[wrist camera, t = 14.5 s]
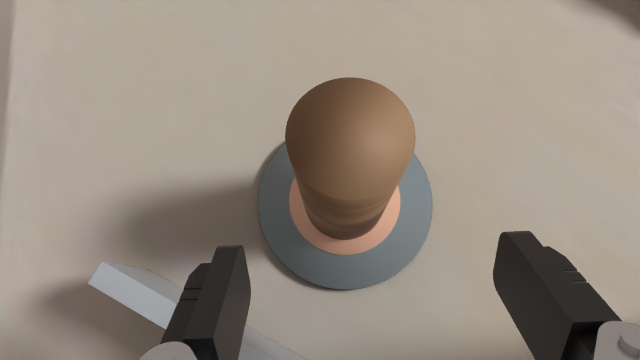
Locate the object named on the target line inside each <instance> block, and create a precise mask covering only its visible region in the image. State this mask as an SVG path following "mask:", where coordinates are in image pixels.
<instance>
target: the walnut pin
mask: <svg viewBox="0 0 640 360" xmlns="http://www.w3.org/2000/svg"><path fill="white" fill-rule="evenodd" d="M285 140H286V148H287V152H288V155H289V159H290V162H291V165H292V168H293V171H294V175H295V178H296V181H297V184H298V187H299V191H300V194H301V197H302V200H303V203H304V207H305V210H306V213H307V215H308V218H309V219H310V221H311V223H312V224H313V225H314V226H315V228H316V229H317V230H319V231H320V232H321V233H323V234H325V235H326V236H329V237H331V238H334V239H340V240H350V239H355V238H358V237H361V236H363V235H365V234H367V233H368V232H369V231H371V230H372V229H373V228H374V227H375V226H376V224H377V223H378V221H379V220H380V218H381V216H382V214H383V212H384V210H385V208H386V206H387V205H388V203H389V201H390V199H391V197H392V195H393V193H394V191H395V189H396V187H397V185H398V184H399V182H400V180H401V178H402V176H403V174H404V172H405V170H406V168H407V166H408V164H409V162H410V160H411V158H412V155H413V152H414V148H415V128H414V123H413V120H412V117H411V115H410V113H409V111H408V109H407V107H406V106H405V105H404V103H403V102H402V101H401V100H400V99H399V97H398V96H397V95H395V94H394V93H393V92H392V91H390V90H389V89H387V88H386V87H384V86H382V85H380V84H378V83H376V82H373V81H370V80H366V79H362V78H338V79H334V80H330V81H327V82H324V83H322V84H320V85H318V86H316V87H314V88H313V89H311V90H310V91H308V92H307V93H306V94H305V95H304V96H303V97H302V98H301V99H300V100H299V101H298V102H297V104H296V105H295V106H294V108H293V110H292V112H291V114H290V116H289V119H288V122H287V126H286V134H285Z"/></svg>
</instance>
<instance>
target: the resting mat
mask: <svg viewBox="0 0 640 360" xmlns="http://www.w3.org/2000/svg"><path fill="white" fill-rule="evenodd" d="M432 206H433V205H432V193H431V188H430V184H429V181H428V178H427V175H426V172H425V170H424V169H423V167H422V165H421V163H420V161H419V160H418V158H417V157H416V155H415V154H414V153H413V155H412V158H411V160H410V162H409V164H408V166H407V168H406V170H405V172H404V174H403V176H402V178H401V180H400V182H399V184H398V185H397V187H396V189H395V191H394V193H393V195H392V197H391V199H390V201H389V203H388V205H387V206H386V208H385V210H384V212H383V214H382V216H381V218H380V220H379V221H378V223H377V224H376V226H375V227H374V228H373V229H372V230H371V231H369V232H368V233H367V234H365V235H363V236H361V237H358V238H355V239H350V240H340V239H334V238H331V237H329V236H326V235H325V234H323V233H321V232H320V231H319V230H317V229H316V228H315V226H314V225H313V224H312V223H311V221H310V219H309V218H308V215H307V213H306V210H305V207H304V203H303V200H302V197H301V194H300V191H299V187H298V184H297V181H296V178H295V175H294V171H293V168H292V165H291V162H290V159H289V155H288V152H287V148H286V143H284V144H283V145H282V146H281V147H280V149H279V150H278V151H277V152H276V153H275V154H274V156H273V157H272V159H271V160H270V162H269V164H268V166H267V168H266V170H265V172H264V174H263V177H262V180H261V184H260V189H259V194H258V213H259V219H260V224H261V228H262V231H263V233H264V236H265V238H266V240H267V242H268V244H269V246H270V248H271V249H272V251H273V252H274V253H275V255H276V256H277V257H278V258H279V260H280V261H281V262H282V263H283V264H284V265H285V266H286V267H288V268H289V269H290V270H291V271H292V272H294V273H295V274H297V275H298V276H300V277H301V278H303V279H305V280H307V281H309V282H311V283H314V284H316V285H320V286H323V287H326V288H333V289H345V290H351V289H359V288H365V287H369V286H372V285H375V284H378V283H380V282H383V281H385V280H387V279H389V278H390V277H392V276H394V275H395V274H397V273H398V272H399V271H401V270H402V269H403V268H404V267H406V266H407V265H408V264H409V262H410V261H411V260H412V259H413V258H414V257H415V256H416V254H417V253H418V251H419V250H420V248H421V247H422V245H423V243H424V241H425V239H426V236H427V233H428V231H429V228H430V223H431V218H432Z"/></svg>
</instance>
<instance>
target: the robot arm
mask: <svg viewBox="0 0 640 360" xmlns="http://www.w3.org/2000/svg"><path fill="white" fill-rule="evenodd" d="M493 280H494V285H495V288H496V291H497V292H498V294H499V296H500V298H501V300H502V301H503V303H504V305H505V307H506V308H507V310H508V312H509V314H510V315H511V317H512V319H513V321H514V323H515V324H516V326H517V328H518V330H519V331H520V333H521V335H522V337H523V338H524V340H525V342H526V344H527V346H528V347H529V349H530V351H531V353H532V354H533V356H534V358H535V360H640V326H637V325H635V324H631V323H628V322H622V320H621V319H620V318H619V317H618V316H617V315H616V314H615V312H614V311H613V310H612V309H611V308H610V307H609V306H608V304H607V303H606V302H605V301H604V300H603V299H602V298H601V296H600V295H599V294H598V293H597V292H596V291H595V290H594V289H593V287H592V286H591V285H590V284H589V283H587V282H586V279H585V278H584V277H583V276H582V275H581V274H580V273H579V272H577V269H576V268H575V267H574V266H573V265H572V263H571V262H570V261H569V260H568V259H567V258H566V257H565V256H563V255H562V254H560V253H559V252H557V251H556V250H554V249H552V248H551V247H549V246H547V247H543V246H542V245H541V243H540V242H539V241H538V240H537V239H536V237H535V236H534V235H533V234H532V233H531V232H530V231H514V232H502V233H501V235H500V237H499V242H498V248H497V253H496V259H495V264H494V269H493ZM250 297H251V286H250V279H249V274H248V269H247V263H246V258H245V253H244V248H243V246H242V245H234V246H218V247H217V249H216V251H215V254H214V256H213V259H212V262H211V263H202V264H200V265H199V266H198V267H197V268H196V269H195V270H194V271H193V272H192V273H191V274H190V275H189V277H188V280H187V282H186V284H185V287H184V291H182V294H181V296H180V298H179V302H178V303H177V305H176V308H175V310H174V312H173V315H172V317H171V319H170V322H169V324H168V326H167V329H166V331H165V333H164V336H163V338H162V340H161V343H160V345H158V346H156V347H154V348H152V349H150V350H149V351H148V352H146V353H145V354H144V355H143V356H142V357H141V358H140V359H139V360H238V357H239V353H240V348H241V343H242V338H243V333H244V329H245V324H246V319H247V314H248V309H249V305H250Z"/></svg>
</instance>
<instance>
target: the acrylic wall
mask: <svg viewBox="0 0 640 360" xmlns="http://www.w3.org/2000/svg"><path fill="white" fill-rule="evenodd" d="M88 284H89V285H91V286H93V287H94V288H96V289H98V290H100V291H101V292H103V293H105V294H106V295H108V296H110V297H111V298H113V299H115V300H116V301H118V302H120V303H122V304H123V305H125V306H127V307H128V308H130V309H132V310H133V311H135V312H137V313H139V314H140V315H142V316H144V317H145V318H147V319H149V320H150V321H152V322H154V323H155V324H157V325H159V326H161V327H162V328H164V329H167V326H168V324H169V322H170V319H171V317H172V315H173V312H174V310H175V308H176V305H177V303H178V302H179V298H180V296H181V294H182V291H184V290H183V289H181V288H179V287H177V286H176V285H174V284H172V283H170V282H169V281H167V280H165V279H163V278H162V277H160V276H158V275H156V274H155V273H153V272H151V271H149V270H147V269H142V268H137V267H131V266H125V265H120V264H114V263H109V262H103V261H102V262H101V264H100V265H99V267H98V268H97V270H96V271H95V273H94V274H93V276H92V277H91V279H90V280H89V282H88ZM238 360H307V359H305V358H303V357H301V356H299V355H298V354H296V353H294V352H292V351H291V350H289V349H287V348H285V347H284V346H282V345H280V344H278V343H276V342H275V341H273V340H271V339H269V338H268V337H266V336H264V335H262V334H261V333H259V332H257V331H255V330H254V329H252V328H250V327H248V326H246V325H245V329H244V333H243V338H242V343H241V348H240V353H239V357H238Z"/></svg>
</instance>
